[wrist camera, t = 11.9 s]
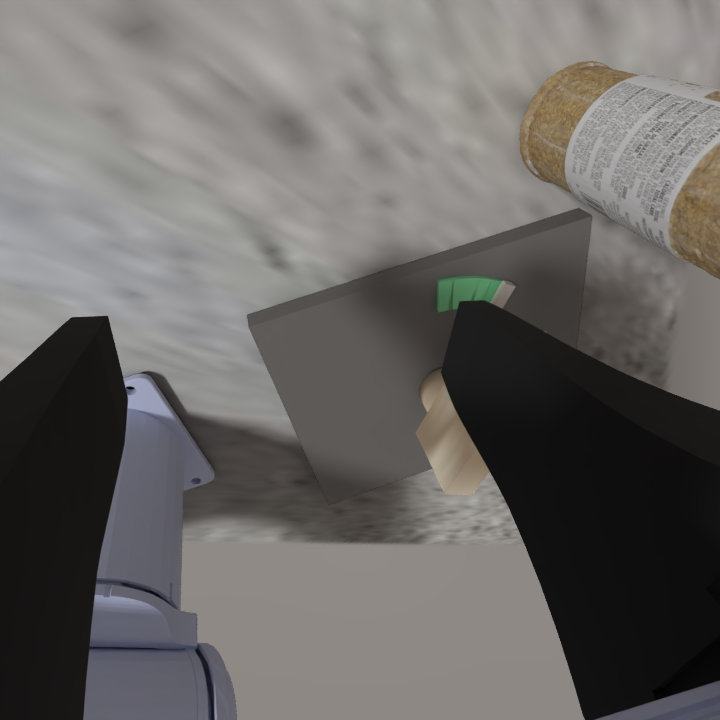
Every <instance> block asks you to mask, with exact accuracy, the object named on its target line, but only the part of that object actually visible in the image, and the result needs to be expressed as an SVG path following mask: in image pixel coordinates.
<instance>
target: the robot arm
mask: <svg viewBox="0 0 720 720" xmlns="http://www.w3.org/2000/svg"><path fill="white" fill-rule="evenodd" d="M441 374H442V377H443V380H444V383H445V386H446V388H447V391H448V394H449V396H450V399H451V401H452V404H453V406H454V409H455V410H456V412H457V414H458V416H459V418H460V420H461V422H462V423H463V425H464V427H465V429H466V431H467V432H468V434H469V436H470V438H471V440H472V441H473V443H474V445H475V447H476V448H477V450H478V452H479V454H480V455H481V457H482V459H483V461H484V462H485V464H486V466H487V468H488V469H489V471H490V473H491V475H492V476H493V478H494V480H495V482H496V483H497V485H498V487H499V489H500V491H501V493H502V495H503V497H504V499H505V501H506V503H507V505H508V507H509V509H510V512H511V514H512V516H513V518H514V521H515V523H516V525H517V528H518V530H519V532H520V535H521V537H522V539H523V542H524V544H525V546H526V549H527V551H528V554H529V557H530V559H531V561H532V564H533V567H534V569H535V572H536V574H537V577H538V579H539V582H540V584H541V587H542V590H543V593H544V596H545V598H546V601H547V604H548V607H549V610H550V612H551V615H552V618H553V621H554V624H555V626H556V629H557V632H558V635H559V638H560V641H561V644H562V647H563V651H564V654H565V657H566V660H567V663H568V666H569V670H570V673H571V676H572V679H573V682H574V685H575V689H576V693H577V696H578V699H579V703H580V707H581V710H582V714H583V716H584V718H585V720H720V411H718V410H716V409H713V408H710V407H707V406H704V405H702V404H699V403H696V402H693V401H690V400H687V399H684V398H682V397H679V396H677V395H674V394H672V393H669V392H667V391H664V390H662V389H660V388H657V387H655V386H652V385H650V384H648V383H645V382H643V381H641V380H638V379H636V378H634V377H631V376H629V375H627V374H625V373H623V372H620V371H618V370H616V369H614V368H612V367H610V366H608V365H606V364H604V363H602V362H600V361H598V360H596V359H594V358H592V357H590V356H588V355H586V354H584V353H582V352H581V351H579V350H577V349H575V348H573V347H571V346H569V345H567V344H566V343H564V342H562V341H560V340H558V339H557V338H555V337H553V336H551V335H549V334H548V333H546V332H544V331H542V330H540V329H539V328H537V327H535V326H533V325H532V324H530V323H528V322H526V321H524V320H523V319H521V318H519V317H517V316H515V315H513V314H512V313H510V312H508V311H506V310H504V309H502V308H500V307H498V306H496V305H494V304H492V303H489V302H487V301H485V300H477V301H459V305H458V309H457V312H456V316H455V320H454V324H453V328H452V331H451V335H450V339H449V343H448V347H447V350H446V354H445V358H444V362H443V365H442V369H441ZM127 386H132V387H134V388H135V389H132V390H130V389H127V388H126V387H127ZM214 477H215V472H214V470H213V468H212V467H211V465H210V464H209V462H208V461H207V459H206V458H205V456H204V455H203V453H202V452H201V450H200V449H199V447H198V446H197V444H196V443H195V441H194V440H193V438H192V437H191V435H190V434H189V432H188V431H187V429H186V428H185V426H184V425H183V423H182V422H181V420H180V419H179V417H178V416H177V415H176V413H175V412H174V410H173V409H172V407H171V406H170V404H169V403H168V401H167V400H166V398H165V397H164V395H163V394H162V392H161V391H160V389H159V388H158V386H157V385H156V383H155V382H154V380H153V379H152V378H151V377H150V376H149V375H146V374H135V375H132V376H129V377H126V378H123V375H122V371H121V367H120V363H119V359H118V355H117V351H116V347H115V343H114V339H113V335H112V331H111V327H110V323H109V319H108V316H95V317H72V318H70V319H69V320H68V321H67V322H66V323H64V324H63V325H62V326H61V327H60V328H59V329H58V330H57V331H55V332H54V333H53V334H52V335H51V336H50V337H49V338H48V339H47V340H46V341H45V342H44V343H43V344H41V345H40V346H39V347H38V348H37V349H36V350H35V351H34V352H33V353H32V354H31V355H29V356H28V357H27V358H26V359H25V360H24V361H23V362H22V363H20V364H19V365H18V366H17V367H16V368H15V369H14V370H13V371H11V372H10V373H9V374H8V375H7V376H6V377H5V378H4V379H3V380H1V381H0V720H237V713H236V712H237V711H236V700H235V694H234V689H233V685H232V681H231V678H230V676H229V673H228V671H227V670H226V667H225V664H224V662H223V660H222V658H221V656H220V654H219V652H218V651H217V650H216V649H215V648H214V647H213V646H211V645H209V644H207V643H197V614H196V613H190V612H184V611H180V602H181V567H182V565H181V564H182V532H183V497H184V491H186V490H189V489H192V488H195V487H198V486H201V485H204V484H207V483H209V482H211V481H212V480H213V479H214ZM194 478H197V479H194Z"/></svg>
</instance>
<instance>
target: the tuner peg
mask: <svg viewBox="0 0 720 720" xmlns="http://www.w3.org/2000/svg"><path fill="white" fill-rule="evenodd" d="M515 287H516V286H515V285H514V284H513V283H511V282H508V281H504V280H503V281H502V283H501V284H500V286H499V288H498V289H497V291H496V293H495V295H494V296H493V298H492V300H491V301H490V303H492V304H494V305H496V306H498V307H500V308H502V309H503V307H504V305H505V304H506V302H507V300H508V299H509V297H510V295H511V294H512V292H513V290H514V289H515ZM441 369H442V368H441ZM441 369H438V370H436V371H434V372H432V373H431V374H429V375H428V376H427V377H426V378H425V379H424V380H423V381H422V383H421V385H420V387H419V397H420V399H421V401H422V403H423V405H424V407H425V409H426V411H427V412H428V413H427V414H426V416H425V418H424V419H423V421H422V423H421V425H420V426H419V428H418V430H417V431H416V435H417V437H418V439H419V441H420V443H421V445H422V447H423V449H424V452H425V454H426V456H427V458H428V460H429V462H430V464H431V466H432V468H433V470H434V473H435V475H436V477H437V479H438V481H439V483H440V485H441V487H442V489H443V491H444V493H445V494H456V495H473V493H474V492H475V491H476V489H477V488H478V487H479V485H480V484H481V483H482V481H483V480H484V479H485V477H486V476H487V474H488V473H489V472H490V471H489V469H488V468H487V466H486V464H485V462H484V461H483V459H482V457H481V455H480V454H479V452H478V450H477V448H476V447H475V445H474V443H473V441H472V440H471V438H470V436H469V434H468V432H467V431H466V429H465V427H464V425H463V423H462V422H461V420H460V418H459V416H458V414H457V412H456V410H455V409H454V406H453V404H452V401H451V399H450V396H449V394H448V391H447V388H446V386H445V383H444V380H443V377H442V374H441Z"/></svg>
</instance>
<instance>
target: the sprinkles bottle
mask: <svg viewBox="0 0 720 720" xmlns="http://www.w3.org/2000/svg"><path fill="white" fill-rule="evenodd" d="M520 151H521V154H522V159H523V161H524V163H525V165H526V167H527V168H528V169H529V170H530V171H531V173H532V174H534V175H535V176H537V177H538V178H539V179H541V180H544V181H546V182H553V183H555V184H557V185H559V186H560V187H562V188H564V189H566V190H567V191H569V192H571V193H573V195H574V196H575V197H576V198H577V199H578V200H580V201H581V202H583V203H585V204H586V205H588V206H590V207H591V208H593V209H595V210H596V211H598V212H600V213H602V214H603V215H605V216H607V217H608V218H610V219H612V220H613V221H615V222H617V223H619V224H620V225H622V226H624V227H626V228H627V229H629V230H631V231H633V232H634V233H636V234H638V235H640V236H641V237H643V238H645V239H647V240H648V241H650V242H652V243H653V244H655V245H657V246H658V247H660V248H662V249H663V250H665V251H667V252H668V253H670V254H672V255H673V256H675V257H677V258H679V259H681V260H683V261H685V262H688V263H692V264H694V265H696V266H697V267H700V268H702V269H704V270H705V271H707V272H708V273H709V274H711V275H713V276H714V277H717V278H719V279H720V90H719V89H714V88H710V87H705V86H700V85H695V84H692V83H687V82H682V81H677V80H672V79H668V78H663V77H658V76H653V75H635V74H632V73H627V72H623V71H618V70H613V69H611V68H609V67H608V66H606V65H604V64H602V63H599V62H593V61H591V62H579V63H576V64H574V65H572V66H568V67H566V68H565V69H563V70H561V71H559V72H557V73H556V74H555V75H554V76H552V77H551V78H549V79H548V80H547V81H546V82H545V83H544V84H543V86H542V87H541V88H540V90H539V91H538V93H537V94H536V95H535V96H534V98H533V99H532V101H531V103H530V105H529V107H528V108H527V110H526V113H525V115H524V119H523V121H522V124H521V130H520Z"/></svg>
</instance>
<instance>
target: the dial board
mask: <svg viewBox="0 0 720 720" xmlns="http://www.w3.org/2000/svg"><path fill="white" fill-rule="evenodd" d="M591 221H592V216H591V215H590V214H588V213H586V212H585V211H583V210H581V209H580V208H577V209H574V210H571V211H568V212H565V213H562V214H559V215H556V216H552V217H549V218H546V219H543V220H540V221H537V222H534V223H531V224H528V225H525V226H521V227H518V228H515V229H512V230H509V231H506V232H503V233H500V234H497V235H493V236H490V237H487V238H484V239H481V240H478V241H475V242H472V243H469V244H466V245H462V246H459V247H456V248H453V249H450V250H447V251H444V252H441V253H438V254H435V255H431V256H428V257H425V258H422V259H419V260H416V261H413V262H410V263H407V264H403V265H400V266H397V267H394V268H391V269H388V270H385V271H382V272H379V273H376V274H372V275H369V276H366V277H363V278H360V279H357V280H354V281H351V282H348V283H344V284H341V285H338V286H335V287H332V288H329V289H326V290H323V291H320V292H317V293H313V294H310V295H307V296H304V297H301V298H298V299H295V300H292V301H289V302H286V303H282V304H279V305H276V306H273V307H270V308H267V309H264V310H261V311H258V312H254V313H251V314H248V315H247V319H248V325H249V329H250V331H251V333H252V336H253V338H254V340H255V342H256V345H257V347H258V349H259V351H260V354H261V356H262V358H263V360H264V362H265V365H266V367H267V369H268V371H269V374H270V376H271V378H272V380H273V383H274V385H275V387H276V389H277V392H278V394H279V396H280V398H281V400H282V403H283V405H284V407H285V409H286V412H287V414H288V416H289V418H290V421H291V423H292V425H293V427H294V430H295V432H296V434H297V436H298V438H299V441H300V443H301V445H302V447H303V450H304V452H305V454H306V456H307V459H308V461H309V463H310V465H311V468H312V470H313V472H314V474H315V476H316V479H317V481H318V483H319V485H320V488H321V490H322V492H323V494H324V497H325V499H326V501H327V503H328V505H331V504H334V503H336V502H339V501H342V500H345V499H348V498H351V497H353V496H356V495H359V494H362V493H365V492H368V491H370V490H373V489H376V488H379V487H382V486H384V485H387V484H390V483H393V482H396V481H399V480H401V479H404V478H407V477H410V476H413V475H416V474H418V473H421V472H424V471H427V470H430V469H433V468H432V466H431V464H430V462H429V460H428V458H427V456H426V454H425V452H424V449H423V447H422V445H421V443H420V441H419V439H418V437H417V435H416V431H417V430H418V428H419V426H420V425H421V423H422V421H423V419H424V418H425V416H426V414H427V413H428V412H427V411H426V409H425V407H424V405H423V403H422V401H421V399H420V397H419V387H420V385H421V383H422V381H423V380H424V379H425V378H426V377H427V376H428V375H429V374H431V373H432V372H434V371H436V370H438V369H441V368H442V365H443V362H444V358H445V354H446V350H447V347H448V343H449V339H450V335H451V331H452V328H453V324H454V320H455V316H456V312H457V309H458V305H459V301H477V300H485V301H487V302H489V303H490V301H491V300H492V298H493V296H494V295H495V293H496V291H497V289H498V288H499V286H500V284H501V283H502V281H503V280H504V281H508V282H511V283H513V284H514V285H515V286H516V287H515V289H514V290H513V292H512V294H511V295H510V297H509V299H508V300H507V302H506V304H505V305H504V307H503V309H504V310H506V311H508V312H510V313H512V314H513V315H515V316H517V317H519V318H521V319H523V320H524V321H526V322H528V323H530V324H532V325H533V326H535V327H537V328H539V329H540V330H542V331H544V332H546V333H548V334H549V335H551V336H553V337H555V338H557V339H558V340H560V341H562V342H564V343H566V344H567V345H569V346H571V347H573V348H575V349H576V348H577V339H578V331H579V323H580V314H581V306H582V297H583V289H584V280H585V272H586V263H587V255H588V246H589V238H590V229H591Z"/></svg>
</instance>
